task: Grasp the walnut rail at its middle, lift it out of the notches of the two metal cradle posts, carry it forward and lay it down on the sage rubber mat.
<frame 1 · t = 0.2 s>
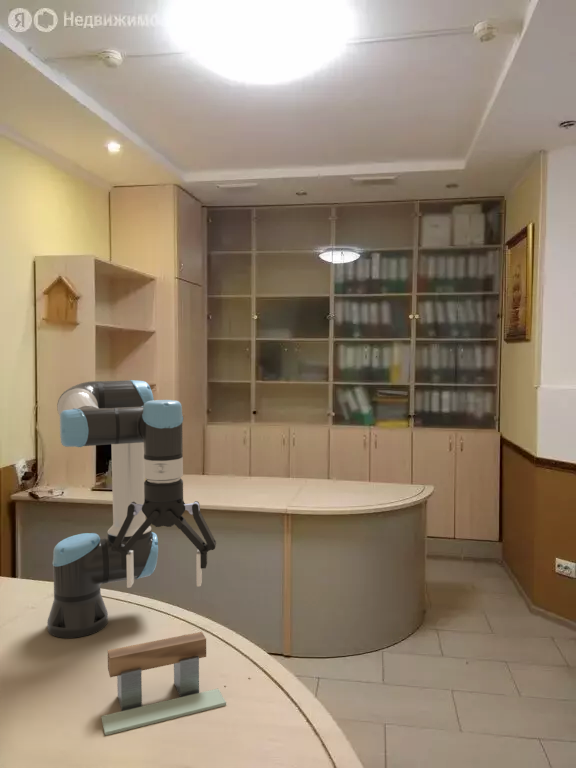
hand: (164, 584, 119), 26 cm above the table, fingers open, 13 cm apart
mat: (165, 711, 120), on the table
rail: (158, 662, 126), point 7 cm above the table, touching cradle posts
cradle posts: (158, 694, 126), on the table
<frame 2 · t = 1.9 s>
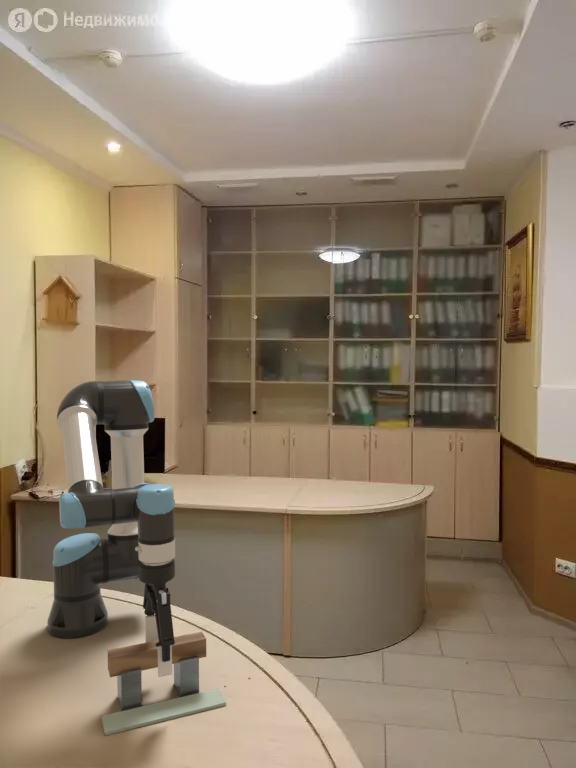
hand: (158, 659, 126), 8 cm above the table, fingers open, 13 cm apart
nothing on the table moved.
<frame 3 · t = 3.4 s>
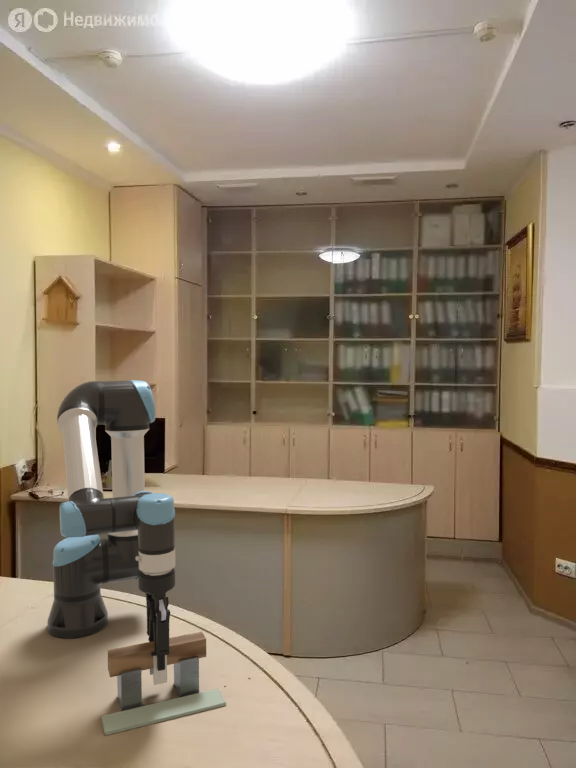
hand: (158, 677, 126), 4 cm above the table, fingers closed on rail, 3 cm apart
rail: (158, 662, 126), point 7 cm above the table, touching cradle posts, gripper
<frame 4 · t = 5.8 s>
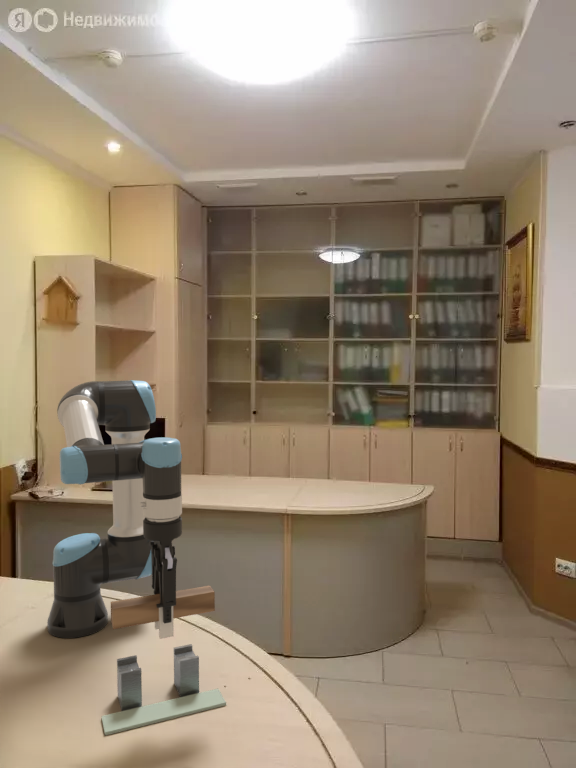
hand: (164, 631, 119), 17 cm above the table, fingers closed on rail, 3 cm apart
rail: (163, 616, 119), point 20 cm above the table, touching gripper
when the fingers open (1 cm above the table, at t = 8.3 s): rail drops 3 cm, resting on mat.
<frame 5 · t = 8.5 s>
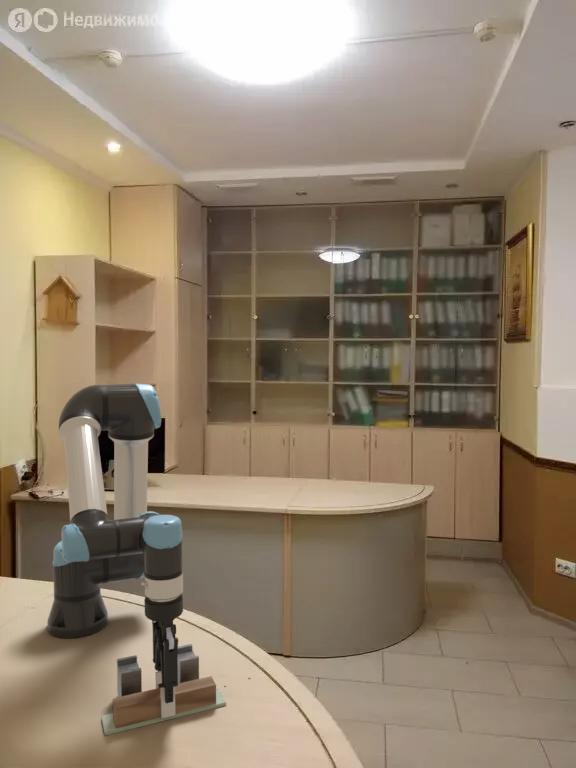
hand: (165, 708, 120), 1 cm above the table, fingers open, 4 cm apart
rail: (165, 710, 120), point 1 cm above the table, touching mat
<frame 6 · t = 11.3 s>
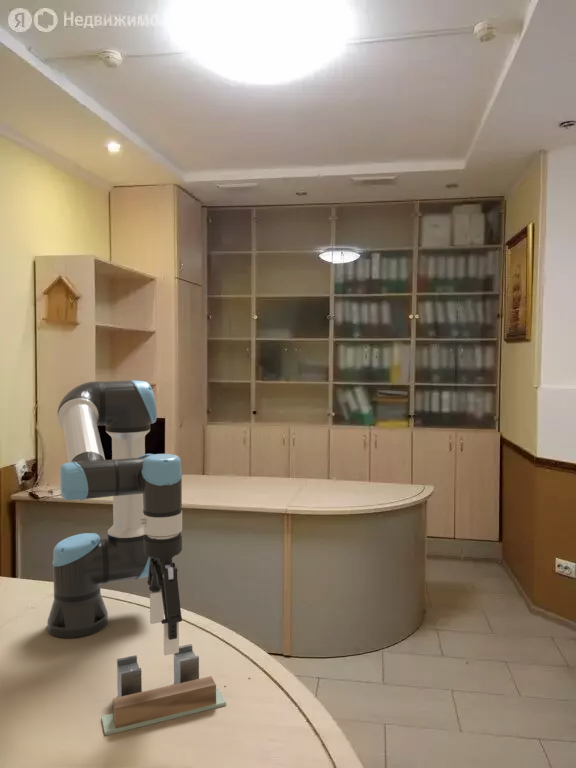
hand: (163, 637, 120), 15 cm above the table, fingers open, 13 cm apart
nothing on the table moved.
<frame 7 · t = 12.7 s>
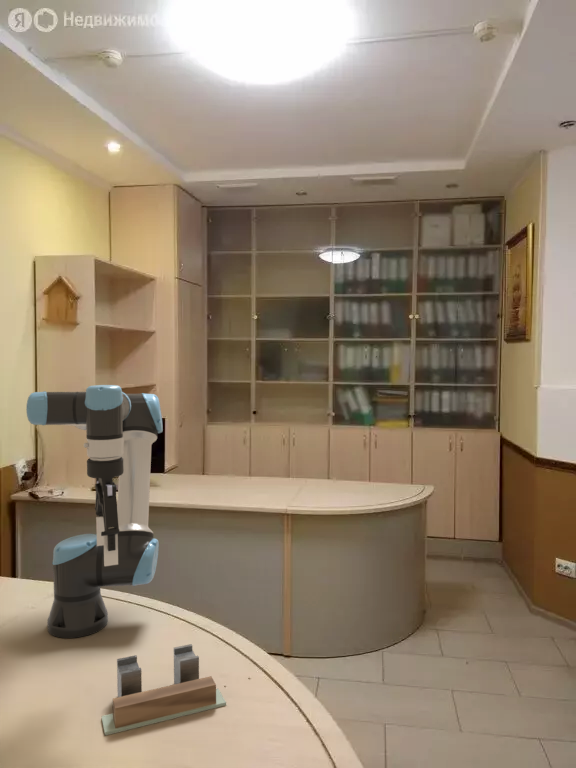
hand: (107, 554, 129), 29 cm above the table, fingers open, 13 cm apart
nothing on the table moved.
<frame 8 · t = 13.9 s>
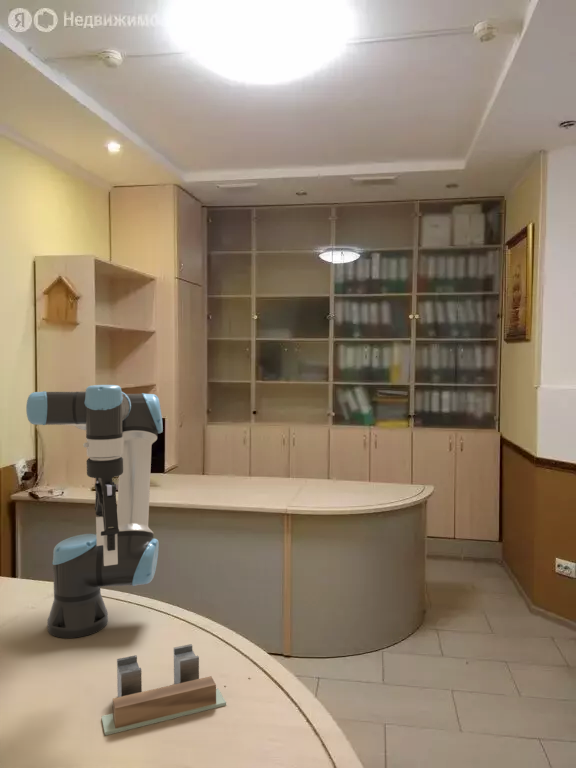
hand: (106, 554, 129), 29 cm above the table, fingers open, 13 cm apart
nothing on the table moved.
at the end: rail inside the target area on the mat (0.6 cm from its centre), point 0.6 cm above the mat's base; rail point 0.6 cm above the table; the gripper is holding nothing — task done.
